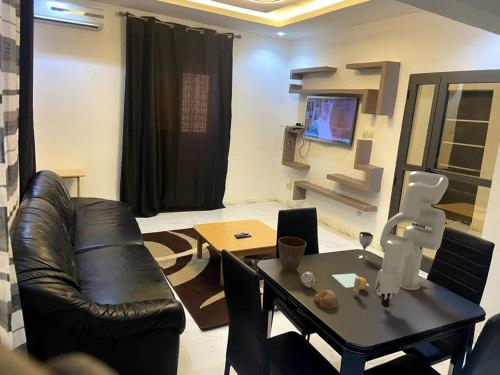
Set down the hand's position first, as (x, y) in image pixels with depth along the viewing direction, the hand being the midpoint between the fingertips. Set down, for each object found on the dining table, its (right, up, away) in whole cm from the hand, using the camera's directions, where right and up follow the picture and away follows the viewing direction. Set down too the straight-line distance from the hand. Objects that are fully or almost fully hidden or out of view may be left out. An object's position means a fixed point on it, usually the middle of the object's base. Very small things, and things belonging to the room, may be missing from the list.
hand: (384, 306), depth 166 cm
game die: (-32, +4, +16) cm, 36 cm away
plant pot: (-39, +9, +34) cm, 53 cm away
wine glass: (+8, +10, +59) cm, 61 cm away
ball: (-6, +6, +17) cm, 19 cm away
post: (-10, +2, +10) cm, 15 cm away
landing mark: (-8, +5, +26) cm, 28 cm away
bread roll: (-26, 0, +1) cm, 26 cm away
